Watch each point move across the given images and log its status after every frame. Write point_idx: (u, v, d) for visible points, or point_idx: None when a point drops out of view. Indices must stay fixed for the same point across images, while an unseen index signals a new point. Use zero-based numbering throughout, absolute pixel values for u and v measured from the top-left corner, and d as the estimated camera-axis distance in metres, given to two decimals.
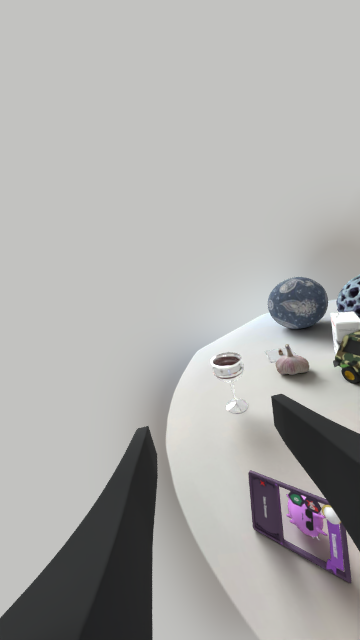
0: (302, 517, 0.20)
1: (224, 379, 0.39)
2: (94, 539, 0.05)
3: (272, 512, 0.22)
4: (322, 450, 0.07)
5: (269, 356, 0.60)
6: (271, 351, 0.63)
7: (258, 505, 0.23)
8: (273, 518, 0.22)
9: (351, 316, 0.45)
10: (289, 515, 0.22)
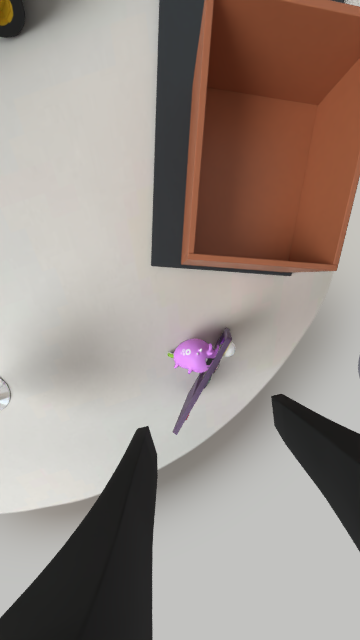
0: (209, 367, 0.17)
1: None
2: (94, 539, 0.05)
3: None
4: (322, 450, 0.07)
5: None
6: None
7: None
8: None
9: None
10: None
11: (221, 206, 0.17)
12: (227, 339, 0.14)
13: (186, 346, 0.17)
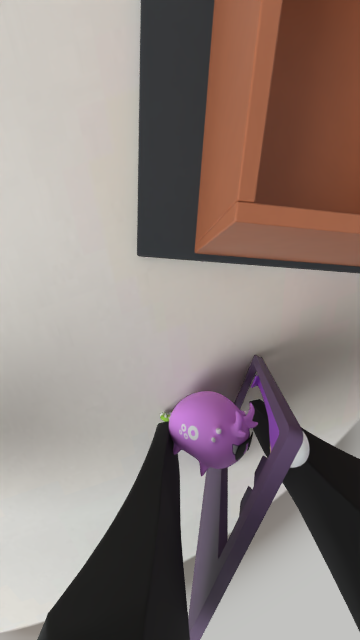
0: None
1: None
2: (136, 528, 0.05)
3: None
4: None
5: None
6: None
7: None
8: None
9: None
10: None
11: (279, 132, 0.08)
12: (291, 436, 0.05)
13: (188, 419, 0.08)
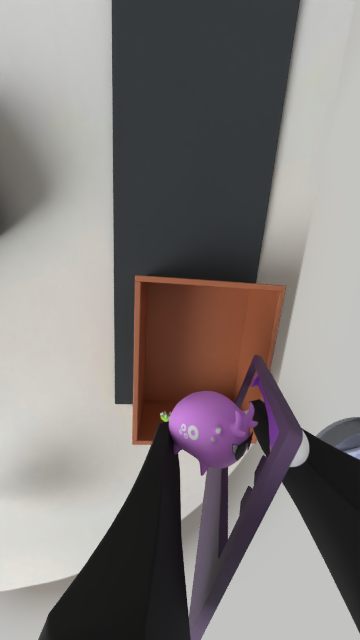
0: (241, 456, 0.08)
1: None
2: (136, 528, 0.05)
3: None
4: None
5: None
6: None
7: None
8: None
9: None
10: None
11: (172, 361, 0.20)
12: (291, 435, 0.05)
13: (188, 419, 0.08)
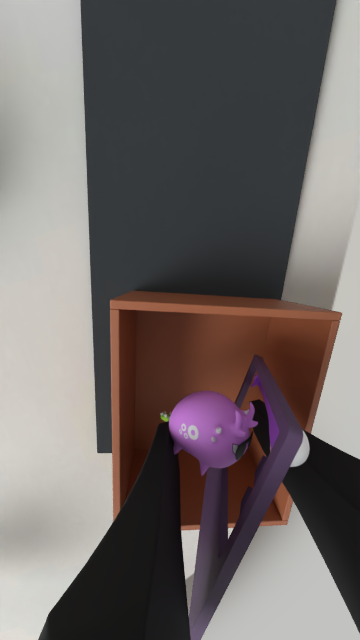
0: None
1: None
2: (136, 528, 0.05)
3: None
4: None
5: None
6: None
7: None
8: None
9: None
10: None
11: (171, 400, 0.15)
12: (291, 435, 0.05)
13: (188, 418, 0.08)
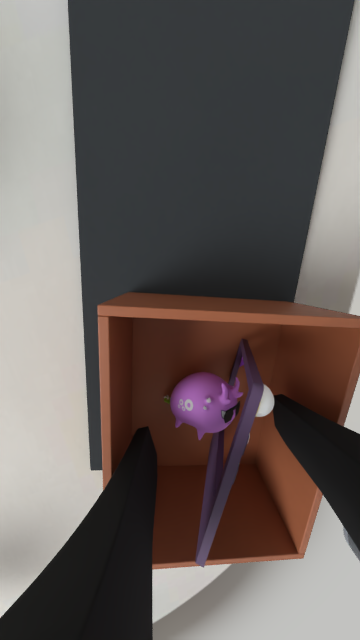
0: (231, 421, 0.10)
1: None
2: (94, 539, 0.05)
3: None
4: (322, 450, 0.07)
5: None
6: None
7: None
8: None
9: None
10: None
11: (171, 413, 0.14)
12: (255, 389, 0.06)
13: (184, 394, 0.10)
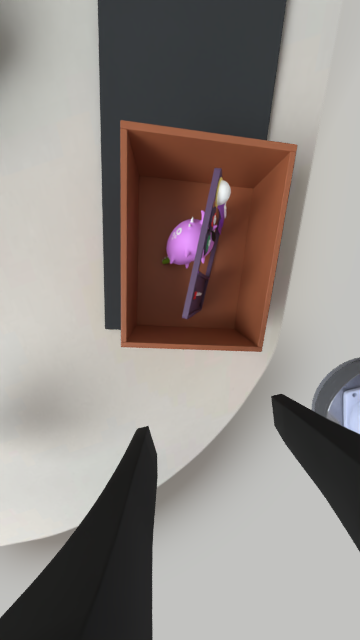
0: None
1: None
2: (94, 539, 0.05)
3: (201, 284, 0.15)
4: (322, 450, 0.07)
5: None
6: None
7: (196, 303, 0.16)
8: (202, 284, 0.16)
9: None
10: (188, 264, 0.16)
11: (168, 277, 0.18)
12: (215, 169, 0.11)
13: (176, 228, 0.14)
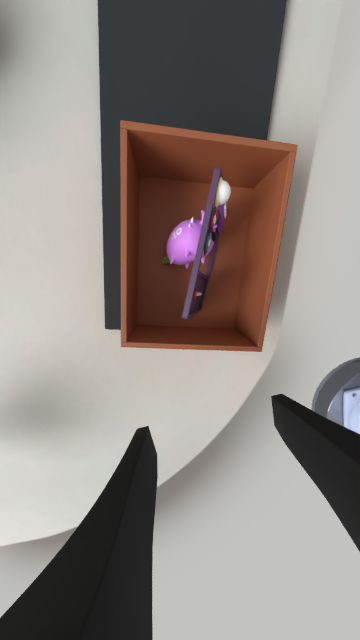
0: None
1: None
2: (94, 539, 0.05)
3: (201, 284, 0.15)
4: (322, 450, 0.07)
5: None
6: None
7: (196, 303, 0.16)
8: (202, 284, 0.16)
9: None
10: (188, 264, 0.16)
11: (168, 277, 0.18)
12: (215, 169, 0.11)
13: (176, 228, 0.14)
